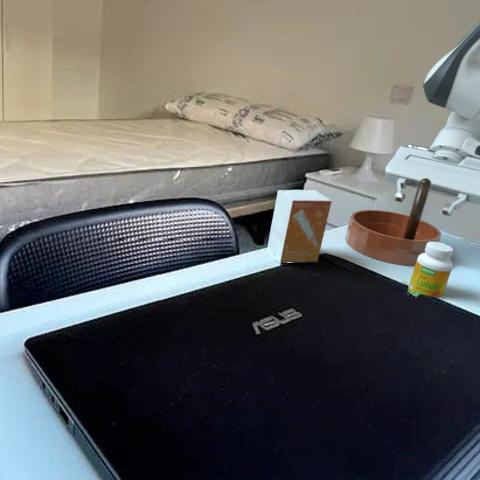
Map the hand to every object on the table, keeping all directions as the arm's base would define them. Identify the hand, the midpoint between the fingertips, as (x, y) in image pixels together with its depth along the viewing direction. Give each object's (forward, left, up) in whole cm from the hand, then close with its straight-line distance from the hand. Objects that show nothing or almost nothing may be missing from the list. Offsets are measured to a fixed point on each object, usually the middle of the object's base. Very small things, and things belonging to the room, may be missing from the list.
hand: (421, 206), depth 100 cm
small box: (+14, +22, -11) cm, 28 cm away
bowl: (+4, +1, -11) cm, 11 cm away
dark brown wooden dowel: (0, +1, -10) cm, 10 cm away
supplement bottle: (-9, +16, -11) cm, 22 cm away
